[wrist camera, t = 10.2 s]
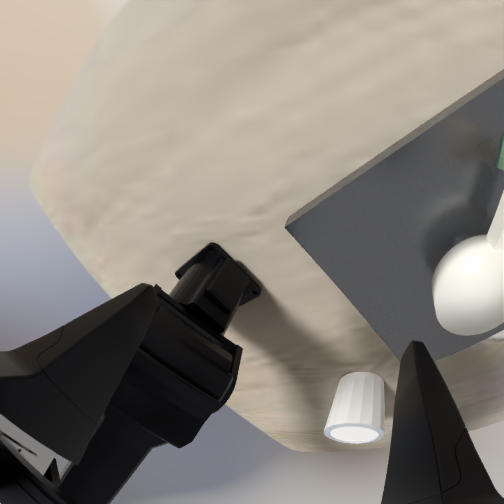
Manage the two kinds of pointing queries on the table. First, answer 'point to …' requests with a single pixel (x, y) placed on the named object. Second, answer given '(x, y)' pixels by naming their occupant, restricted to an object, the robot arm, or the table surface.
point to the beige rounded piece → (472, 282)
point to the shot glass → (357, 409)
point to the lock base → (411, 219)
